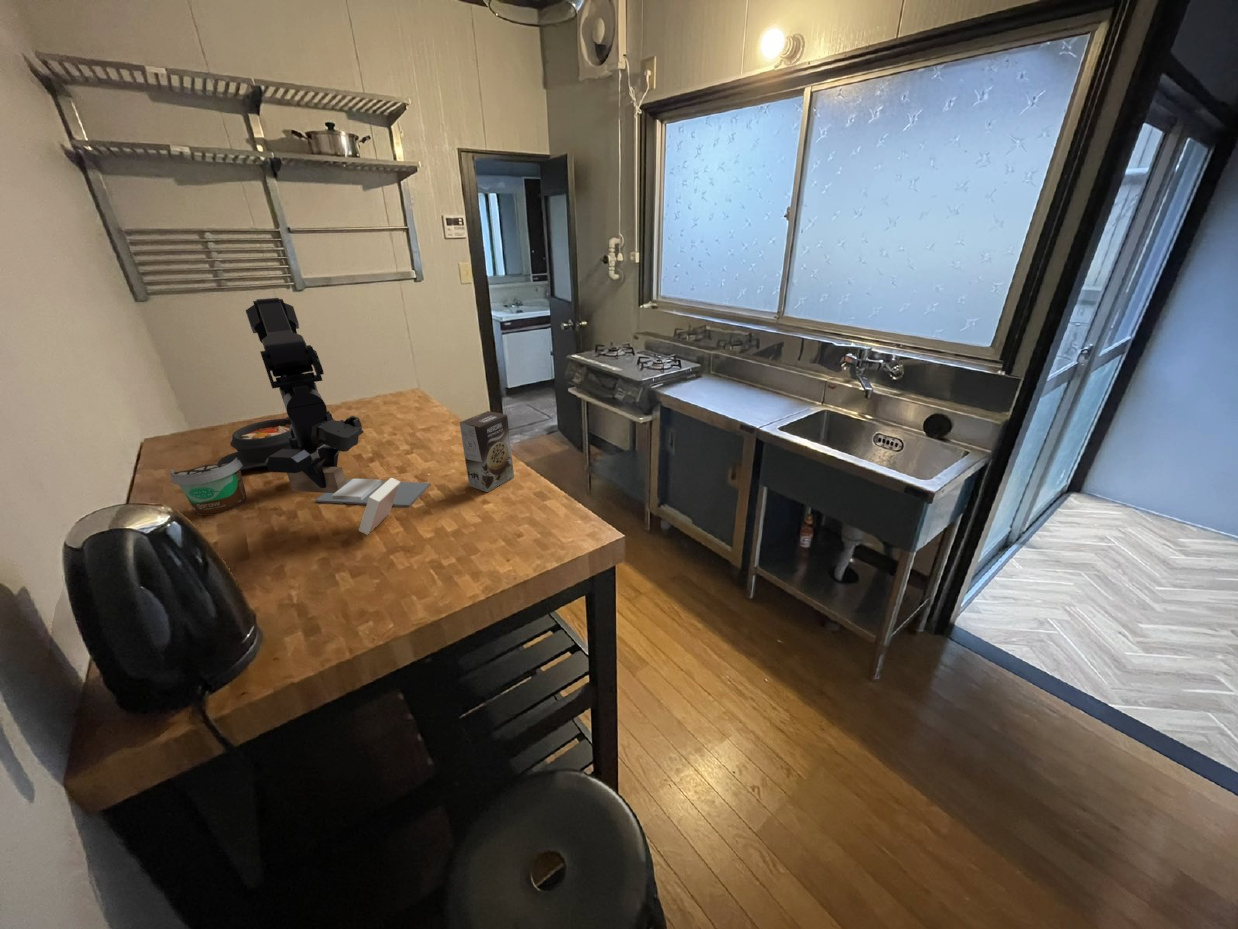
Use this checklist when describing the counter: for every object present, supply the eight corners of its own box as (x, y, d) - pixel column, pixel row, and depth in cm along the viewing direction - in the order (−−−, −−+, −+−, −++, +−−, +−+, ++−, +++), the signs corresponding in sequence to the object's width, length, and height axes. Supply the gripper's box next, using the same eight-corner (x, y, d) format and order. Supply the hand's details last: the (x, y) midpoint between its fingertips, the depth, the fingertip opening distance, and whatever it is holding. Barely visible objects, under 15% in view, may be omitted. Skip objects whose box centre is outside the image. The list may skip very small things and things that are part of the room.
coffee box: (488, 493, 111) (478, 427, 104) (468, 486, 115) (457, 421, 107) (515, 477, 118) (508, 414, 111) (496, 471, 121) (488, 409, 114)
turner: (285, 496, 96) (277, 476, 94) (309, 479, 102) (303, 460, 100) (361, 500, 94) (355, 479, 92) (381, 483, 100) (376, 463, 98)
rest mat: (315, 502, 109) (315, 500, 108) (343, 480, 118) (342, 479, 117) (409, 506, 106) (409, 504, 106) (430, 484, 115) (430, 483, 115)
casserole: (315, 434, 144) (307, 407, 140) (340, 452, 133) (332, 423, 129) (212, 463, 128) (199, 433, 124) (230, 485, 116) (217, 453, 113)
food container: (180, 524, 101) (159, 481, 97) (187, 510, 106) (168, 469, 102) (251, 509, 106) (234, 468, 102) (255, 496, 111) (239, 456, 107)
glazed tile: (358, 530, 97) (369, 496, 93) (380, 509, 104) (391, 477, 100) (368, 535, 97) (379, 501, 93) (389, 513, 104) (400, 481, 100)
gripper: (311, 430, 81) (336, 510, 88) (374, 395, 98) (391, 465, 105) (250, 428, 82) (279, 507, 89) (322, 393, 99) (342, 463, 106)
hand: (328, 484), depth 97 cm, fingers closed on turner, 3 cm apart
